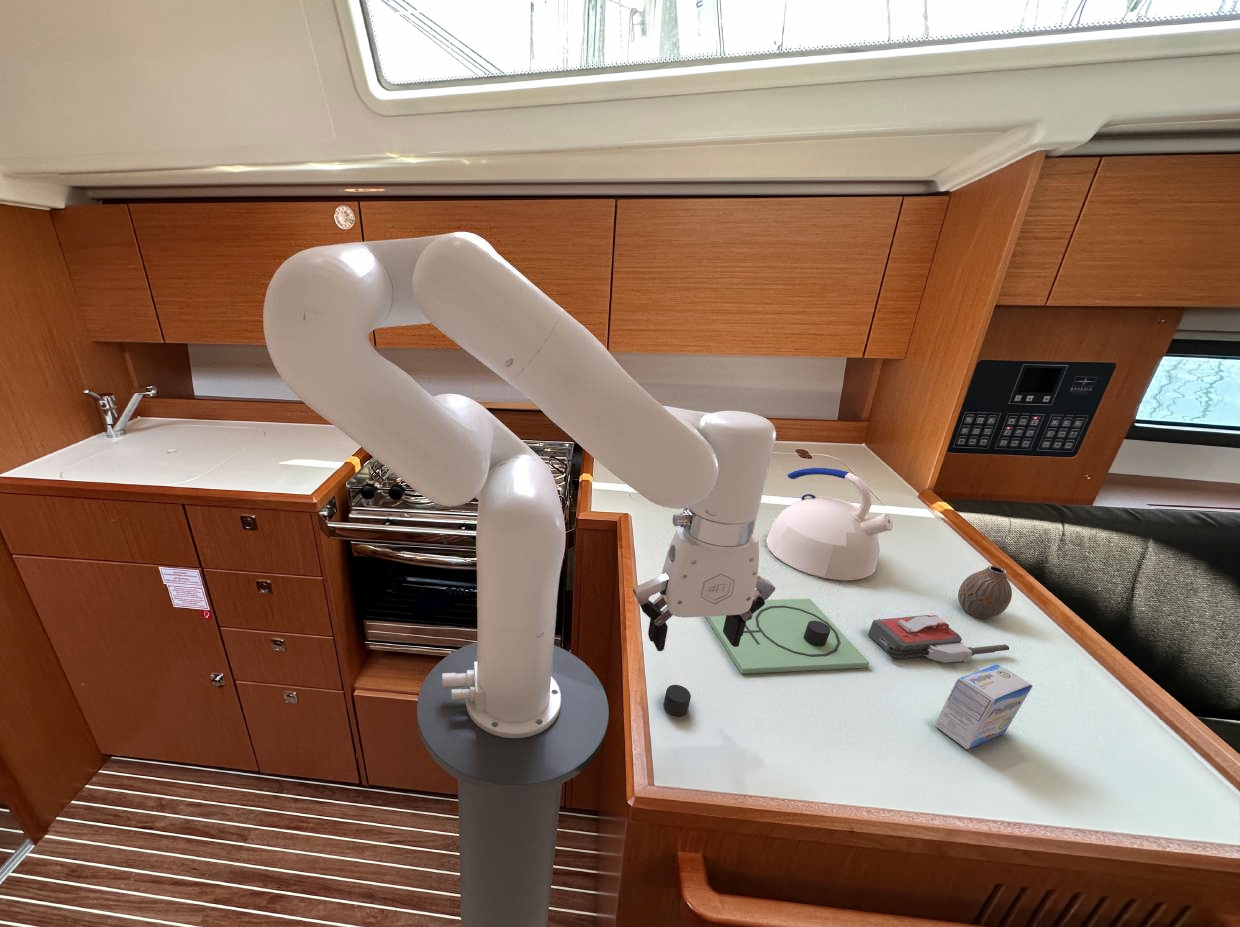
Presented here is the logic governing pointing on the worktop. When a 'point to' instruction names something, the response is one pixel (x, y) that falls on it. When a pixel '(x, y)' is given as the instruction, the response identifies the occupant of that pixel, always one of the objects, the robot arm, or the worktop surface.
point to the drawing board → (787, 640)
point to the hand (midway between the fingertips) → (693, 641)
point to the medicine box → (982, 705)
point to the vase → (985, 593)
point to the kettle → (829, 533)
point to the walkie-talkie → (924, 639)
